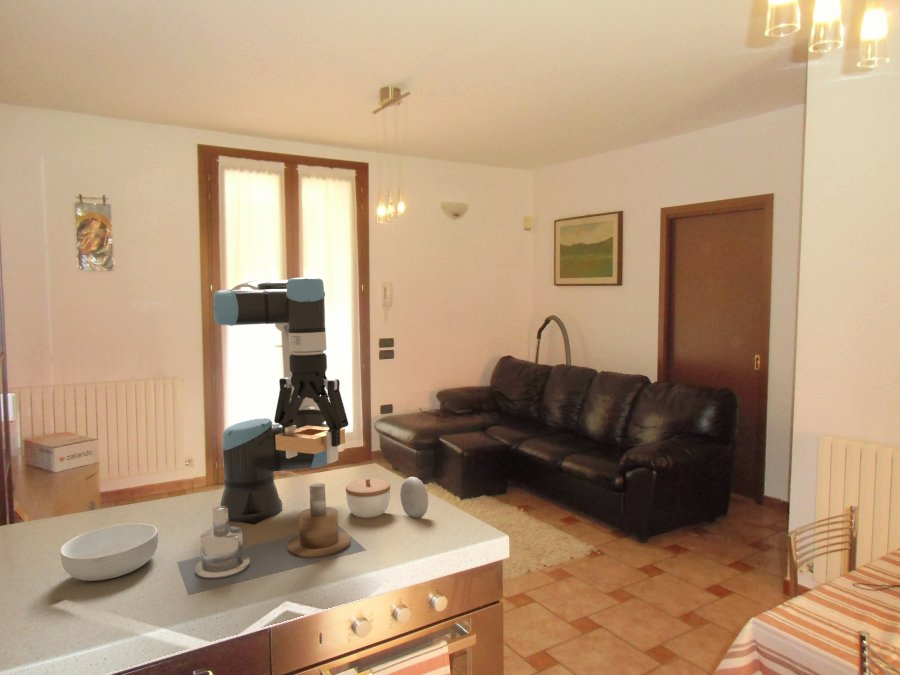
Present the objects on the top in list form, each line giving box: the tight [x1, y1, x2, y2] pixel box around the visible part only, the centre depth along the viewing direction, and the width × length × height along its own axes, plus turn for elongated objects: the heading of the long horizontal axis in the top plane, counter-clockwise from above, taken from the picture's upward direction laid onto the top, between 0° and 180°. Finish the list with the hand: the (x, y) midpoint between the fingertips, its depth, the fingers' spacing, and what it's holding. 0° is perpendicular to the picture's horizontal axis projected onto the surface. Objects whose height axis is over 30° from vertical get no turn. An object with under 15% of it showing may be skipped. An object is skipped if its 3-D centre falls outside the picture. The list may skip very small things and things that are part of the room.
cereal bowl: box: [59, 522, 159, 582], centre depth 119 cm, size 17×17×7 cm
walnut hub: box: [288, 482, 351, 558], centre depth 127 cm, size 13×13×13 cm
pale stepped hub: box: [195, 505, 250, 580], centre depth 117 cm, size 10×10×12 cm
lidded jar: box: [345, 477, 391, 519], centre depth 146 cm, size 11×11×9 cm
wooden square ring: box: [275, 426, 346, 454], centre depth 125 cm, size 10×10×3 cm
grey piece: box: [399, 476, 429, 519], centre depth 145 cm, size 10×4×10 cm, turn 34°
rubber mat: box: [176, 525, 367, 595], centre depth 122 cm, size 34×16×1 cm, turn 121°
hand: (311, 459), depth 125 cm, fingers closed on wooden square ring, 10 cm apart
